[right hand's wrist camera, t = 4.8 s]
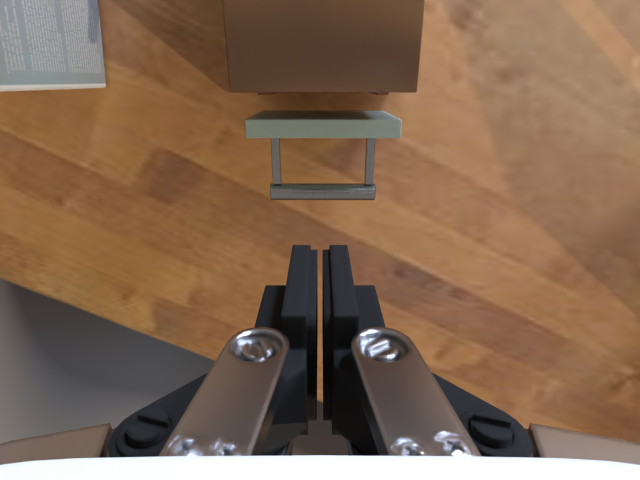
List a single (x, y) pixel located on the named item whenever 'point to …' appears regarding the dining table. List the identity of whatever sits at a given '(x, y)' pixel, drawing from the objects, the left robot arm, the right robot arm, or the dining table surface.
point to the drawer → (323, 127)
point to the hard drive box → (50, 45)
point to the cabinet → (323, 45)
